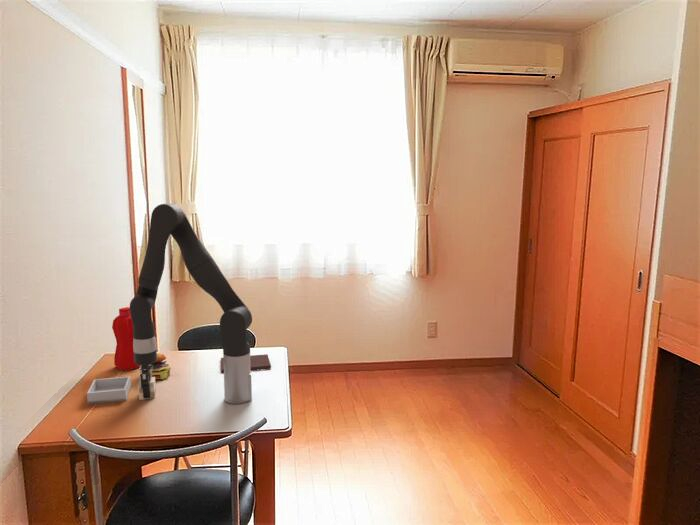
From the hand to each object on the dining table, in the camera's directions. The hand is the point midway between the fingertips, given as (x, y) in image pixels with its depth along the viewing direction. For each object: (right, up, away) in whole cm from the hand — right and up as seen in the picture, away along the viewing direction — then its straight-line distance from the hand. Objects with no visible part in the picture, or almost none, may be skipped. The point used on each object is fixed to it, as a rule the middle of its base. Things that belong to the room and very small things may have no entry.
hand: (147, 394), depth 183 cm
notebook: (+29, +4, +31) cm, 43 cm away
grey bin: (-14, 0, 0) cm, 14 cm away
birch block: (0, -1, 0) cm, 1 cm away
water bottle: (-19, +4, +28) cm, 34 cm away
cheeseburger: (-4, +2, +18) cm, 19 cm away
